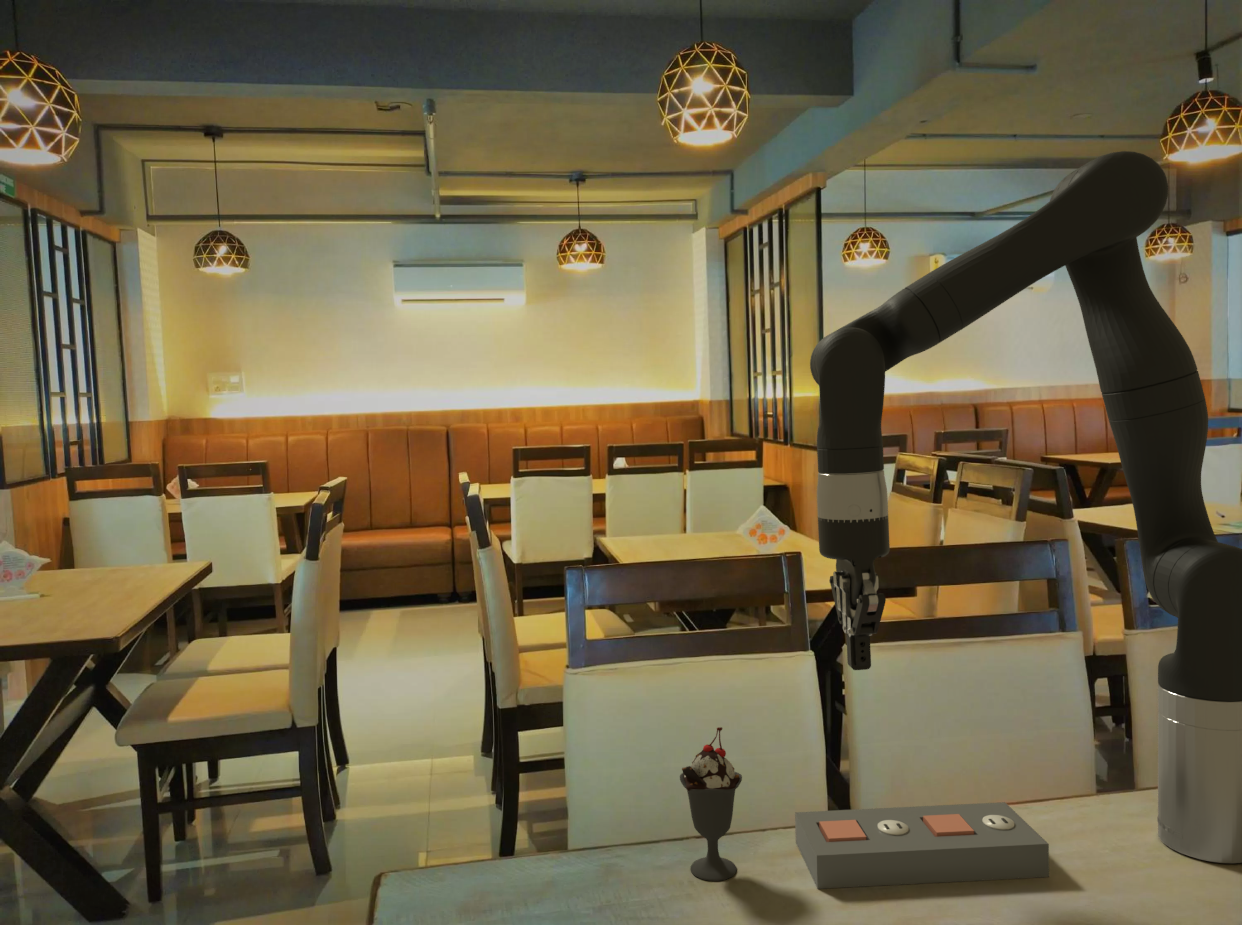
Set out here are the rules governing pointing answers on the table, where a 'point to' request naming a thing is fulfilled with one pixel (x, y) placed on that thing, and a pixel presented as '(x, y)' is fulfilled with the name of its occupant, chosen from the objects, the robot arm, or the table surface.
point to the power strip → (921, 847)
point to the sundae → (711, 807)
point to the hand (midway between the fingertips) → (859, 667)
